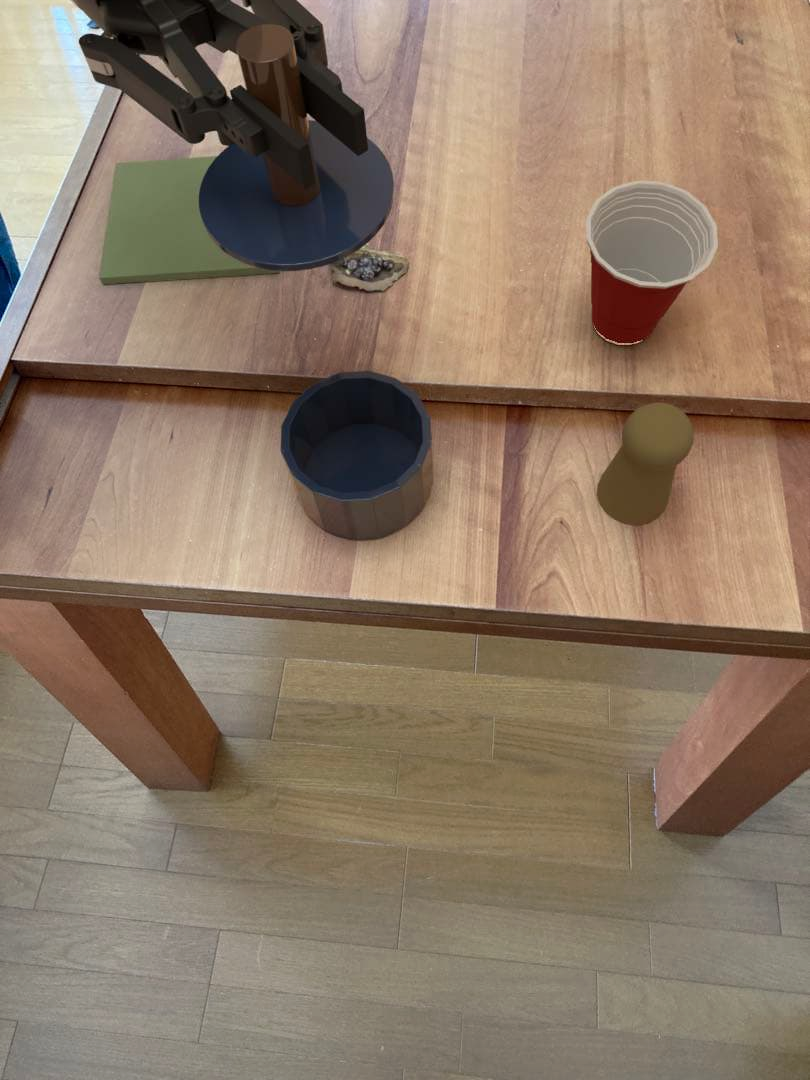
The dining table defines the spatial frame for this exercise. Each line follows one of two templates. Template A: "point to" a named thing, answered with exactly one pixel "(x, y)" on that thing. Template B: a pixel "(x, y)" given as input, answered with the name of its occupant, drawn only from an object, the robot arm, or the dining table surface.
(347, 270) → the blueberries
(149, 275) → the mat
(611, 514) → the pepper shaker
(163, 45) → the robot arm
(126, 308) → the dining table surface
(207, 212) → the lid
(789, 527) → the dining table surface
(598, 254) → the plastic cup
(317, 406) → the pot
